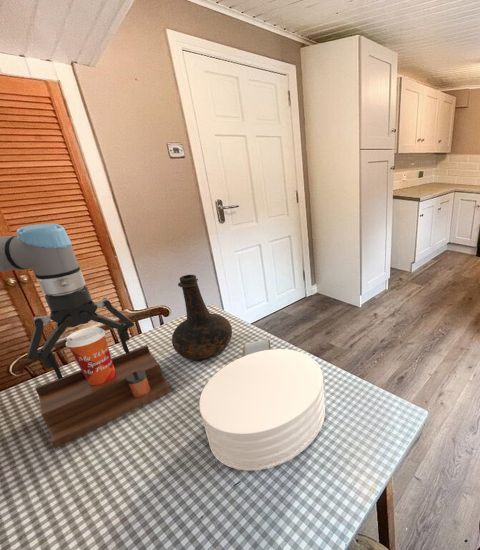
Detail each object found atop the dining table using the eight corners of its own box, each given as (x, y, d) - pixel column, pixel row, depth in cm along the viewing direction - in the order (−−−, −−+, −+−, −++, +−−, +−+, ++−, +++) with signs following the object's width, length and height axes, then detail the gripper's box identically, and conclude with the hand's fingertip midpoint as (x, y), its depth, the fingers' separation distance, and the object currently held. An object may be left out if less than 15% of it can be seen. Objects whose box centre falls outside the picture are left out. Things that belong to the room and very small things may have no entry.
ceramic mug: (246, 358, 100) (242, 338, 97) (272, 353, 102) (269, 334, 99) (244, 379, 91) (240, 359, 88) (273, 374, 93) (270, 353, 90)
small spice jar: (128, 397, 80) (122, 381, 78) (139, 385, 84) (134, 370, 82) (143, 397, 80) (138, 381, 78) (154, 386, 84) (149, 370, 82)
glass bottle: (234, 332, 115) (220, 262, 104) (235, 359, 100) (220, 281, 89) (180, 343, 108) (160, 270, 98) (173, 374, 93) (148, 292, 83)
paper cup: (90, 392, 77) (70, 346, 71) (79, 381, 80) (58, 336, 75) (126, 374, 83) (109, 330, 78) (113, 364, 87) (97, 322, 81)
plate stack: (267, 370, 95) (262, 339, 90) (344, 400, 83) (343, 366, 79) (182, 441, 71) (170, 404, 67) (274, 496, 60) (267, 455, 56)
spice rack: (49, 414, 79) (35, 387, 76) (154, 368, 96) (146, 344, 92) (56, 451, 69) (40, 422, 66) (172, 393, 86) (164, 367, 82)
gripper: (-16, 314, 61) (27, 396, 69) (133, 279, 78) (154, 347, 86) (-15, 302, 65) (26, 380, 73) (125, 271, 83) (146, 337, 91)
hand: (95, 363), depth 80 cm, fingers open, 13 cm apart
